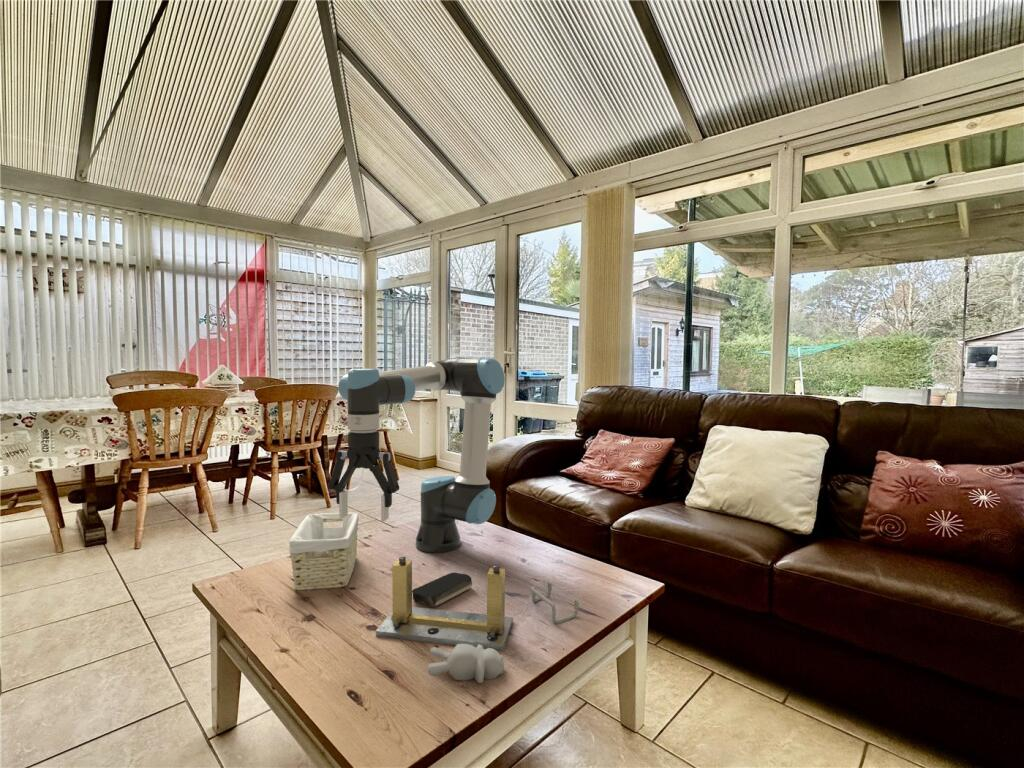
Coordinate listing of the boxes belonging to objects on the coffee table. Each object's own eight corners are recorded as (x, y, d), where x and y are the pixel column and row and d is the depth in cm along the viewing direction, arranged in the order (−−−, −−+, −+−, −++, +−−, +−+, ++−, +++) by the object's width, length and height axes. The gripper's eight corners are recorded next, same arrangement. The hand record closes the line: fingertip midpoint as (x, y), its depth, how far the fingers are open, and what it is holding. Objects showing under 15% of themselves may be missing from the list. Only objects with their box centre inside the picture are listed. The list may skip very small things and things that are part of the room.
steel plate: (396, 609, 125) (396, 604, 125) (512, 622, 119) (512, 617, 119) (375, 635, 113) (375, 630, 113) (503, 651, 108) (503, 645, 108)
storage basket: (349, 590, 135) (349, 537, 135) (287, 594, 132) (286, 540, 132) (360, 555, 159) (360, 510, 158) (307, 558, 156) (306, 513, 155)
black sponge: (430, 612, 124) (431, 598, 124) (409, 602, 129) (409, 588, 129) (475, 589, 137) (475, 576, 137) (453, 580, 142) (453, 568, 142)
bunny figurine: (506, 667, 96) (428, 662, 94) (502, 692, 96) (425, 688, 94) (502, 639, 105) (431, 634, 104) (499, 662, 105) (429, 658, 104)
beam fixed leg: (395, 613, 120) (395, 554, 120) (504, 625, 116) (505, 563, 115) (385, 627, 114) (385, 564, 114) (499, 640, 110) (500, 574, 109)
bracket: (578, 619, 122) (579, 599, 122) (552, 626, 118) (554, 605, 118) (548, 597, 133) (549, 578, 133) (524, 602, 129) (525, 583, 129)
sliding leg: (398, 613, 120) (398, 554, 120) (412, 614, 120) (412, 555, 119) (388, 626, 114) (388, 564, 114) (402, 627, 114) (402, 565, 113)
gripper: (312, 431, 120) (313, 519, 121) (401, 434, 116) (401, 526, 117) (329, 426, 127) (330, 510, 129) (413, 430, 123) (413, 516, 125)
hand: (364, 518), depth 123 cm, fingers open, 10 cm apart
